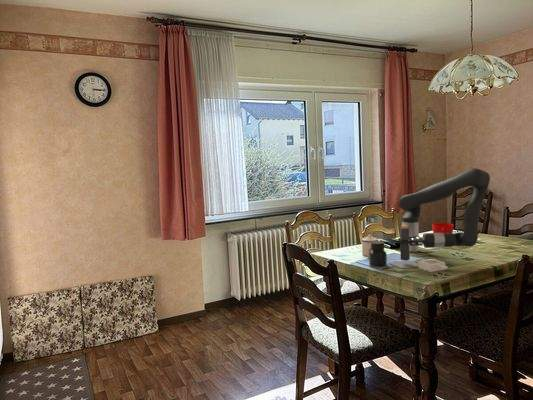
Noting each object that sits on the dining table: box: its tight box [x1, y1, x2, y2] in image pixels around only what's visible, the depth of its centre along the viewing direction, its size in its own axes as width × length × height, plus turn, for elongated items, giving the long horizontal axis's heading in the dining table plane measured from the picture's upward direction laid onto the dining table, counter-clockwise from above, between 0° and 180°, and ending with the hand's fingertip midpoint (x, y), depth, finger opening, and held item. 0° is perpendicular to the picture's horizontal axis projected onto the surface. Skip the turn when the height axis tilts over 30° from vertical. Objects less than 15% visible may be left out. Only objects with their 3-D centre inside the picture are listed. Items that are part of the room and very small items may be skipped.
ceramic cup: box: [431, 222, 454, 233], centre depth 273 cm, size 13×17×10 cm
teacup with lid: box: [361, 234, 379, 257], centre depth 241 cm, size 12×9×12 cm
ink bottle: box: [368, 240, 388, 268], centre depth 217 cm, size 10×9×12 cm
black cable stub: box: [399, 224, 410, 261], centre depth 214 cm, size 4×4×18 cm
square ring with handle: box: [417, 258, 448, 273], centre depth 203 cm, size 15×9×4 cm, turn 18°
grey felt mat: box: [388, 260, 418, 270], centre depth 215 cm, size 12×12×1 cm
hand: (399, 241), depth 215 cm, fingers closed on black cable stub, 4 cm apart
